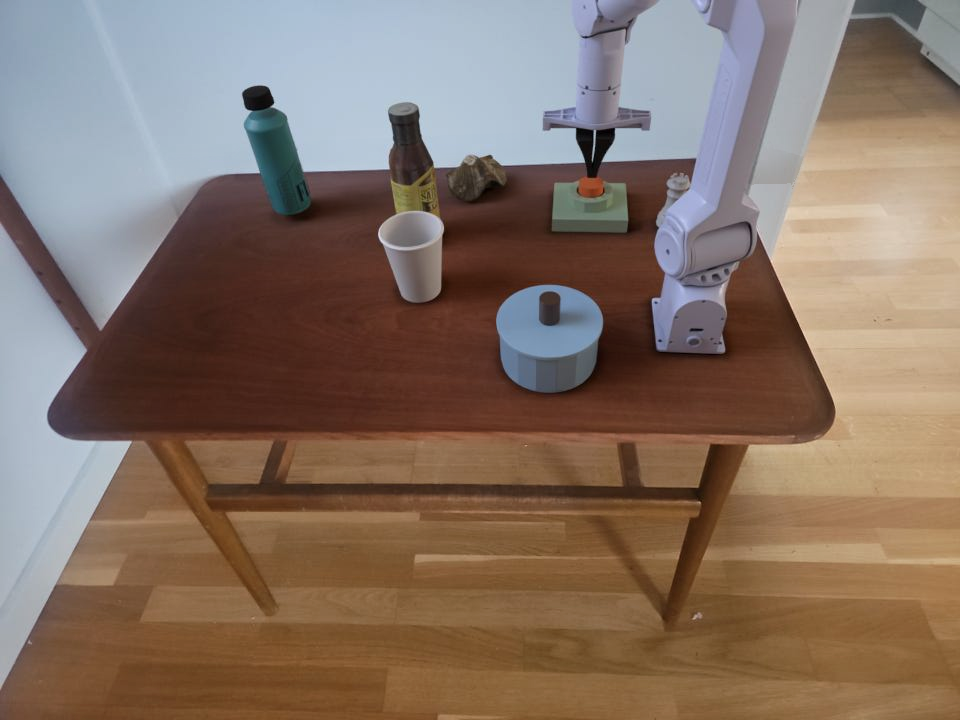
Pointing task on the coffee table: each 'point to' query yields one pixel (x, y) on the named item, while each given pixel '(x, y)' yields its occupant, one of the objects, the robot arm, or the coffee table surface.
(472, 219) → the coffee table surface
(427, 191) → the sauce bottle
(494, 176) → the fossilized seashell
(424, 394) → the coffee table surface
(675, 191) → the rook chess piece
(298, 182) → the beverage bottle
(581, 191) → the button
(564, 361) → the tin
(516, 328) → the tin lid
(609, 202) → the switch block
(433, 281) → the dixie cup
